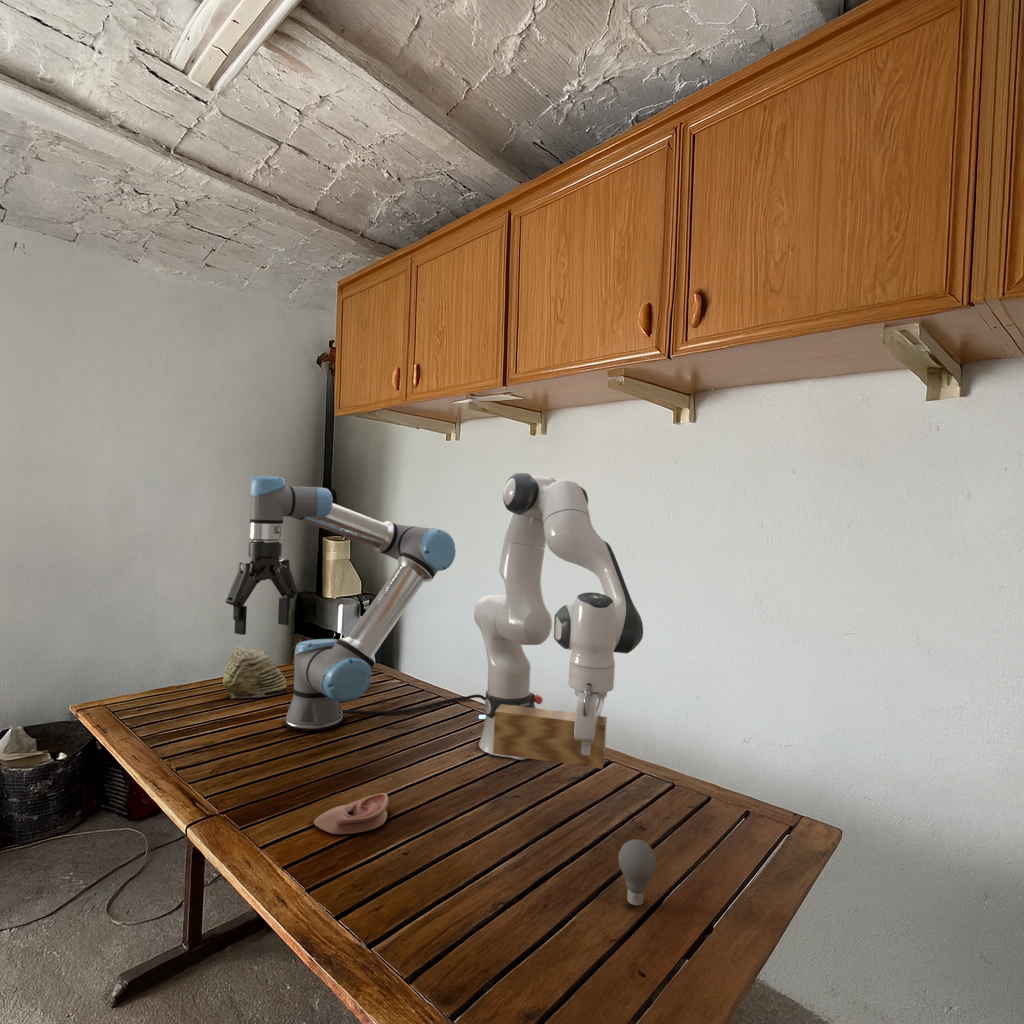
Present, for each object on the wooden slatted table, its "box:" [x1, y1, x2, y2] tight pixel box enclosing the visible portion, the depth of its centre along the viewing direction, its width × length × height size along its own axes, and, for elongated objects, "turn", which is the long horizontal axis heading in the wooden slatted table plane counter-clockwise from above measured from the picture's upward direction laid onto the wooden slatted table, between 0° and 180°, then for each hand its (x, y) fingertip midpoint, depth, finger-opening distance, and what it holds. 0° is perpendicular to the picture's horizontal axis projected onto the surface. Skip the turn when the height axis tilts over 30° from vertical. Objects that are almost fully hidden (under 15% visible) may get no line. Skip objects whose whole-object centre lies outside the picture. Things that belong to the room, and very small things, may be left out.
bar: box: [493, 704, 608, 770], centre depth 125 cm, size 22×5×8 cm, turn 77°
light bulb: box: [618, 838, 657, 906], centre depth 102 cm, size 6×6×10 cm
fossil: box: [222, 646, 288, 699], centre depth 198 cm, size 9×18×15 cm, turn 132°
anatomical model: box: [313, 792, 389, 835], centre depth 124 cm, size 13×4×12 cm
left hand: (262, 629), depth 152 cm, fingers open, 13 cm apart
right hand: (587, 748), depth 124 cm, fingers closed on bar, 5 cm apart
